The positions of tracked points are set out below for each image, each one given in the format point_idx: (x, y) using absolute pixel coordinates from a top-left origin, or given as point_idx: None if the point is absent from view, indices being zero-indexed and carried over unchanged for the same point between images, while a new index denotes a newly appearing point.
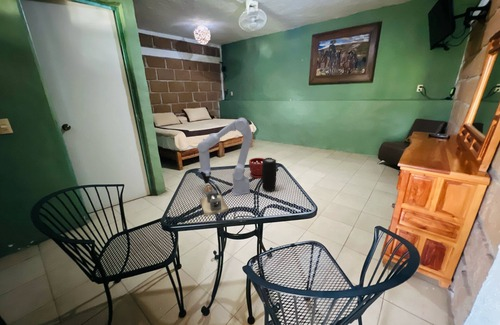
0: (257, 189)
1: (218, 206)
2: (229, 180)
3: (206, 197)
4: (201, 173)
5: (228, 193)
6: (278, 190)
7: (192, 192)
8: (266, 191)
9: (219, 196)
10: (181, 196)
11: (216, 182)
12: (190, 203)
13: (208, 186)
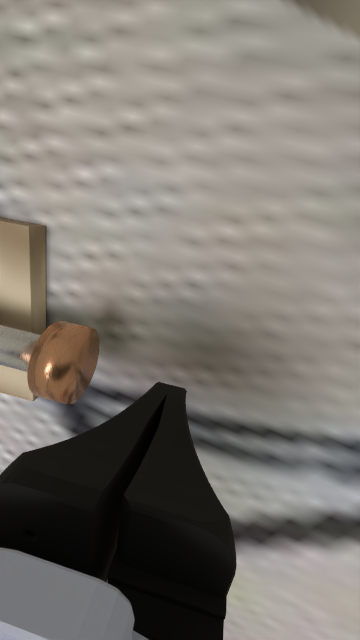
0: None
1: None
2: (286, 568)
3: (29, 289)
4: (33, 496)
5: None
6: None
7: (266, 216)
8: None
9: (9, 380)
10: (245, 53)
11: (328, 491)
12: (36, 125)
13: (29, 374)
